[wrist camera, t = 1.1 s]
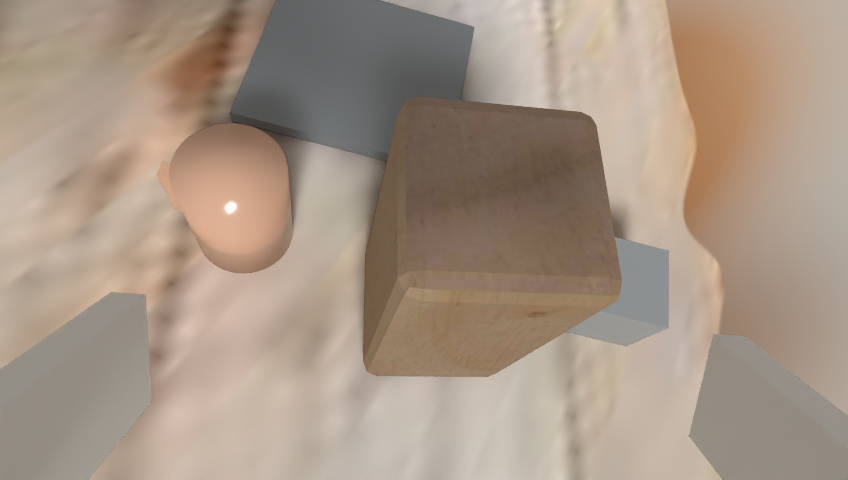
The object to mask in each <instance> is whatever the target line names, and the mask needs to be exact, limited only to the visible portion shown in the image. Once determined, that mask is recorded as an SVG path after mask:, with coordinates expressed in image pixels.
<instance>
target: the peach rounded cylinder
mask: <svg viewBox="0 0 848 480" xmlns="http://www.w3.org/2000/svg"><path fill="white" fill-rule="evenodd" d="M157 176H158V178H159V180H160V182H161V184H162V186H163V188H164V190H165V192H166V193H167V195H168V197H169V199H170V201H171V203H172V205H173V207H174V209H178V210H182V211H183V213H184V215H185V217H186V219H187V221H188V223H189V225H190V227H191V230H192V232H193V234H194V236H195V238H196V240H197V242H198V244H199V246H200V248H201V250H202V252H203V253H204V255H205V256H206V257H207V258H208V260H209V261H211V262H212V263H213V264H214V265H216V266H218V267H219V268H221V269H224V270H226V271H230V272H235V273H252V272H257V271H260V270H263V269H265V268H267V267H269V266H271V265H273V264H274V263H275V262H277V261H278V260H279V259H280V258H281V257H282V256H283V255H284V254H285V252H286V251H287V249H288V247H289V245H290V243H291V240H292V236H293V222H292V210H291V198H290V186H289V174H288V165H287V160H286V157H285V155H284V153H283V151H282V149H281V147H280V146H279V145H278V143H277V142H276V141H275V140H274V139H273V138H272V137H270V136H269V135H268V134H266V133H264V132H263V131H261V130H259V129H257V128H254V127H251V126H248V125H243V124H236V123H224V124H217V125H213V126H209V127H206V128H204V129H201V130H199V131H197V132H196V133H194V134H192V135H191V136H190V137H188V138H187V139H186V140H185V141H184V142H183V143H182V144H181V145H180V146H179V148H178V149H177V150H176V152H175V154H174V156H173V158H172V161H171V163H167V162H162V164H161V166H160V168H159V171H158V173H157Z"/></svg>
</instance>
